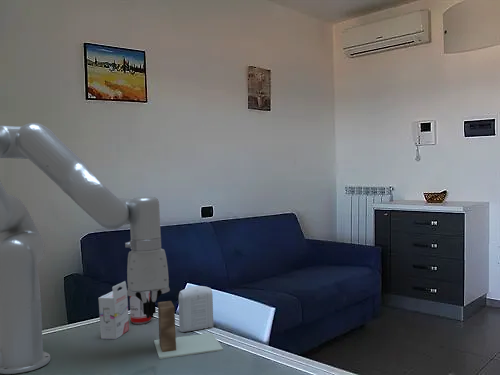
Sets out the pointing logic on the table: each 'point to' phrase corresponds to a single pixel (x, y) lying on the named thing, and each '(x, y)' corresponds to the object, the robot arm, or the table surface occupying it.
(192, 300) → the photo printer
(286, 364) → the table surface
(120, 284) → the ink cartridge box
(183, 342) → the board
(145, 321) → the red striped can
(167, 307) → the slab
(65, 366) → the table surface
